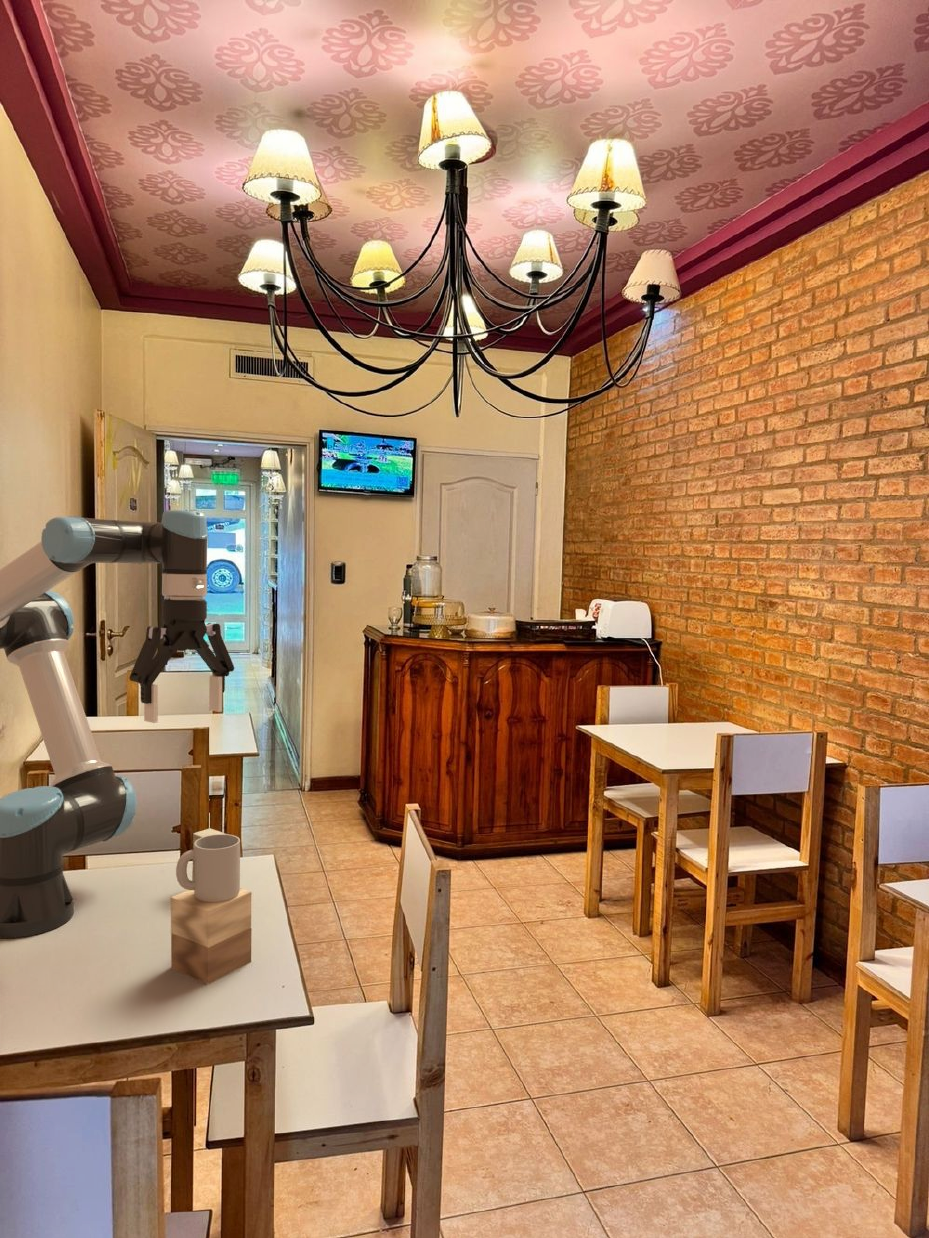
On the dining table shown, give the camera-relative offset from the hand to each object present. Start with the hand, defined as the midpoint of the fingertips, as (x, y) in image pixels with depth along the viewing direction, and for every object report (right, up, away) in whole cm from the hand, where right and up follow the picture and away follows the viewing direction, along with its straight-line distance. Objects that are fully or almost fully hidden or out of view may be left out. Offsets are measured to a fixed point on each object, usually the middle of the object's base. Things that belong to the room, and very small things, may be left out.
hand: (184, 716), depth 145 cm
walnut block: (+8, -40, -11) cm, 42 cm away
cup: (+8, -28, -12) cm, 32 cm away
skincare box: (-1, -38, +17) cm, 41 cm away
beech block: (+8, -34, -11) cm, 37 cm away
